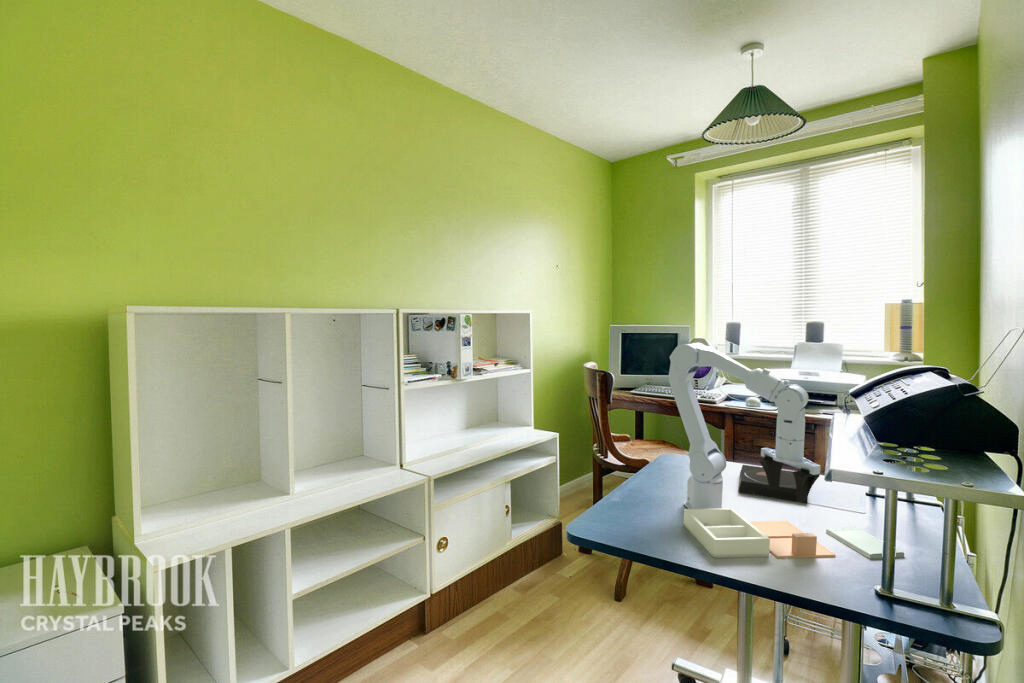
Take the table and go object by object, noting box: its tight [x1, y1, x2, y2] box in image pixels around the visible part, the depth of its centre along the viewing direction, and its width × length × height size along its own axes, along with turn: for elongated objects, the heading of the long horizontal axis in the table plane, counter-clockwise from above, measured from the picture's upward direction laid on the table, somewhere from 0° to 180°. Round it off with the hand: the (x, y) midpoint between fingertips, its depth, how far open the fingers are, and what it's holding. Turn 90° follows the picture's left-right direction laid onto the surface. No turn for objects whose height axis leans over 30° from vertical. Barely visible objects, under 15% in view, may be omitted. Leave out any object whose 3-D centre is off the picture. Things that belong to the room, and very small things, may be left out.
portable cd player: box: [738, 464, 809, 504], centre depth 145 cm, size 16×17×4 cm
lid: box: [749, 520, 836, 559], centre depth 113 cm, size 17×13×5 cm
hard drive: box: [825, 526, 905, 560], centre depth 111 cm, size 2×8×12 cm
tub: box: [683, 507, 770, 559], centre depth 113 cm, size 16×12×4 cm
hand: (787, 495), depth 115 cm, fingers open, 7 cm apart
